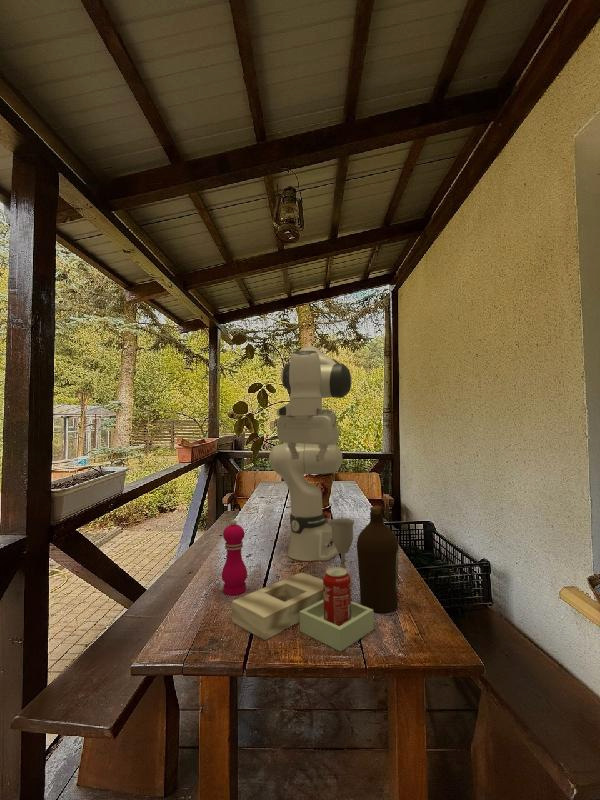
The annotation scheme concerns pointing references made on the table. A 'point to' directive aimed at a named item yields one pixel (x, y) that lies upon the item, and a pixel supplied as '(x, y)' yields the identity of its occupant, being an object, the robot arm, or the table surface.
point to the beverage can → (337, 596)
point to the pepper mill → (234, 560)
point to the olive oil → (378, 564)
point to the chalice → (342, 536)
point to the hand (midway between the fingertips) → (307, 460)
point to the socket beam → (277, 605)
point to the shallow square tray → (334, 634)
